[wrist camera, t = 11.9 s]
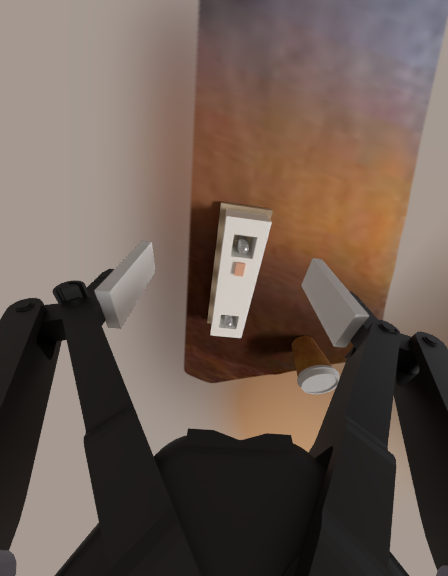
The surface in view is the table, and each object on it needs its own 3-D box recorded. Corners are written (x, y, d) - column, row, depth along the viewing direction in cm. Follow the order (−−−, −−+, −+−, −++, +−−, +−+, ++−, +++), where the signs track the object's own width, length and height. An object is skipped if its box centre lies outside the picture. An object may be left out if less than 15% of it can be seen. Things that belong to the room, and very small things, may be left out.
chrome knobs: (237, 231, 36) (239, 244, 30) (246, 232, 36) (250, 246, 30) (223, 307, 46) (223, 328, 41) (231, 308, 46) (232, 329, 41)
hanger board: (221, 201, 34) (221, 203, 32) (270, 208, 34) (272, 210, 33) (207, 318, 49) (207, 322, 48) (242, 322, 50) (242, 326, 48)
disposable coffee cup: (295, 358, 58) (310, 399, 48) (279, 341, 54) (291, 383, 44) (325, 344, 54) (348, 385, 44) (310, 326, 50) (331, 367, 40)
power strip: (226, 208, 33) (226, 216, 28) (265, 214, 33) (272, 223, 29) (211, 319, 47) (210, 337, 43) (239, 322, 48) (241, 340, 43)
